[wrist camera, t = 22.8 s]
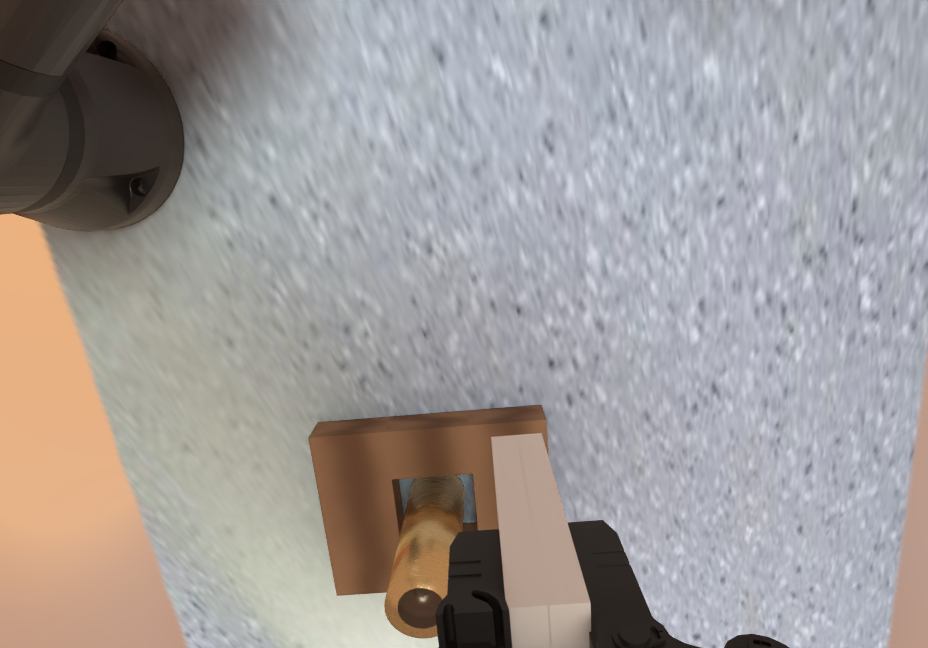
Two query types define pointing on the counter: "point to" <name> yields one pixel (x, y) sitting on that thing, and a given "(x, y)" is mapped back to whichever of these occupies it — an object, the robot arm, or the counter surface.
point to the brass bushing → (424, 554)
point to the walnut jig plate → (400, 457)
